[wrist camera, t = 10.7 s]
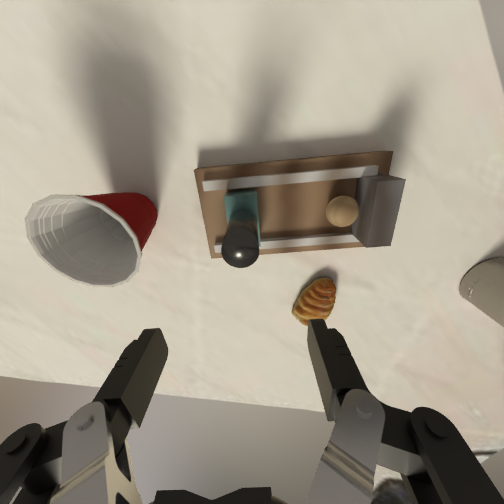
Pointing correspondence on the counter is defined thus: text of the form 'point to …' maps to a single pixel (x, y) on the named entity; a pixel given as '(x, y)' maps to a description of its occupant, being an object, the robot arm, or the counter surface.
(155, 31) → the counter surface
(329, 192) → the base
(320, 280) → the pastry
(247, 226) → the jaw
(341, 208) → the walnut
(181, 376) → the counter surface
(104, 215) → the plastic cup
